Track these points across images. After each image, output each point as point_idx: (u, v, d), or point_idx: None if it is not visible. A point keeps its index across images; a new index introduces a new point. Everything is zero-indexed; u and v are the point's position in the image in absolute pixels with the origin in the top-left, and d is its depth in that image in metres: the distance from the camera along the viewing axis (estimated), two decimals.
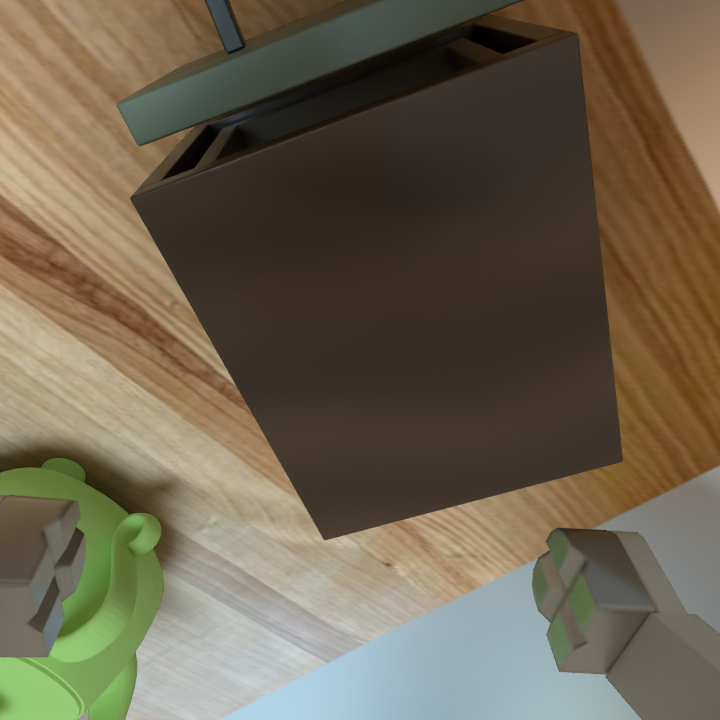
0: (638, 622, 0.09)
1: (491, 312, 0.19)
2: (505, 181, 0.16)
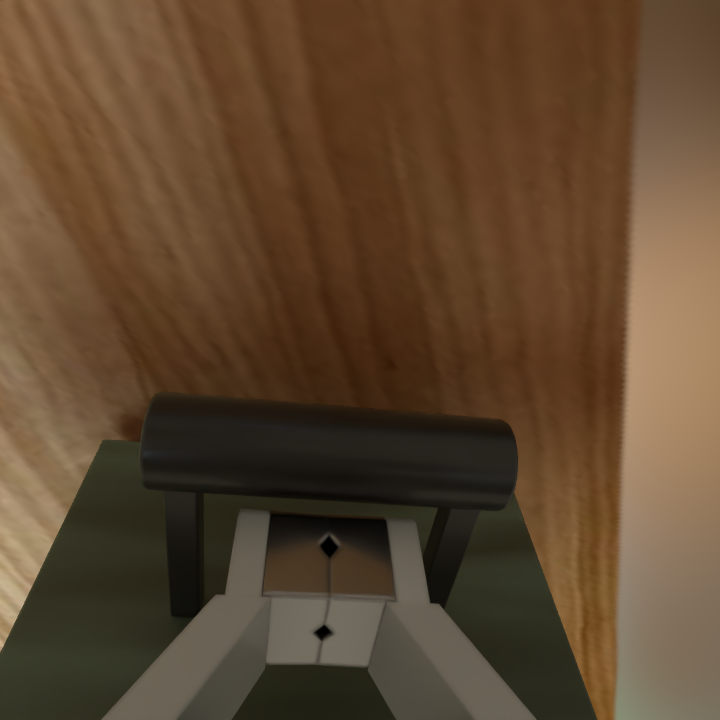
0: (379, 612, 0.08)
1: None
2: None
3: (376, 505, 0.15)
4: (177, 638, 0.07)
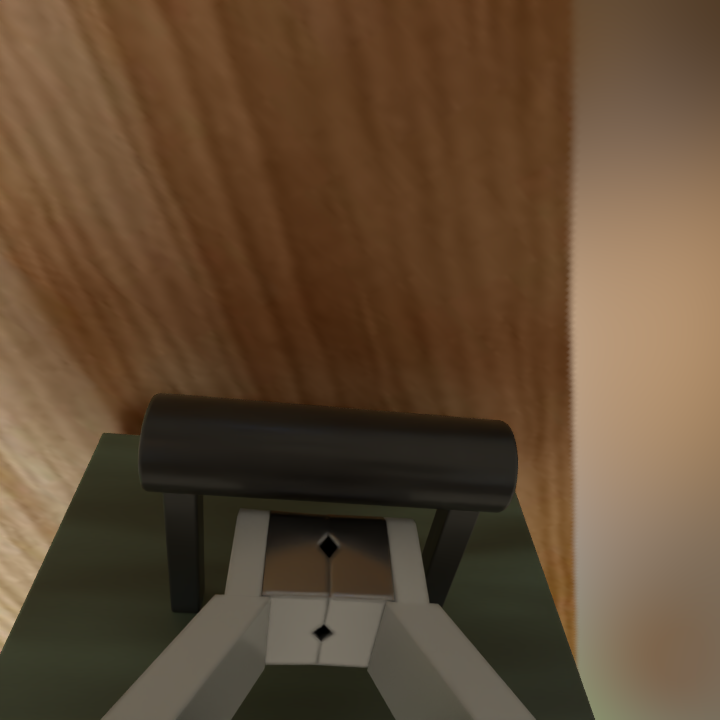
0: (379, 612, 0.08)
1: None
2: None
3: None
4: (176, 638, 0.07)
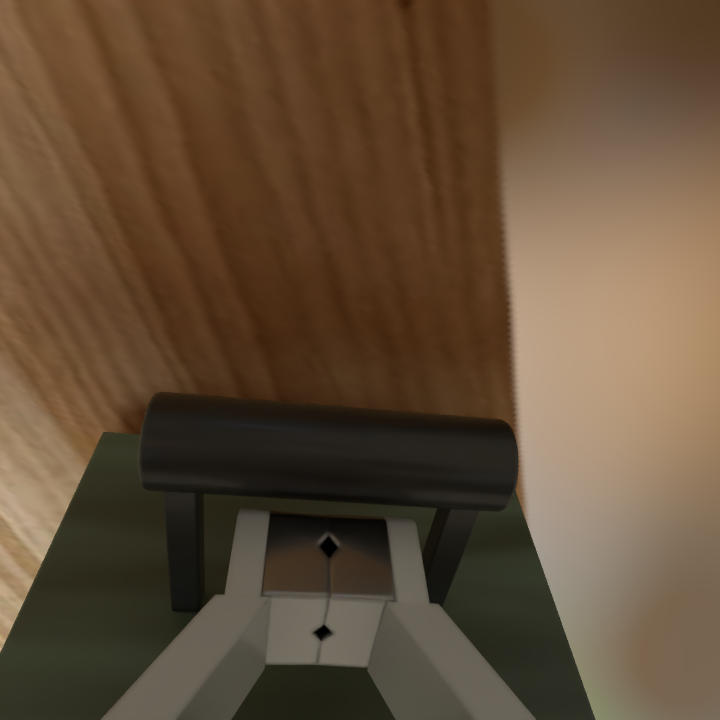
0: (379, 612, 0.08)
1: None
2: None
3: None
4: (176, 638, 0.07)
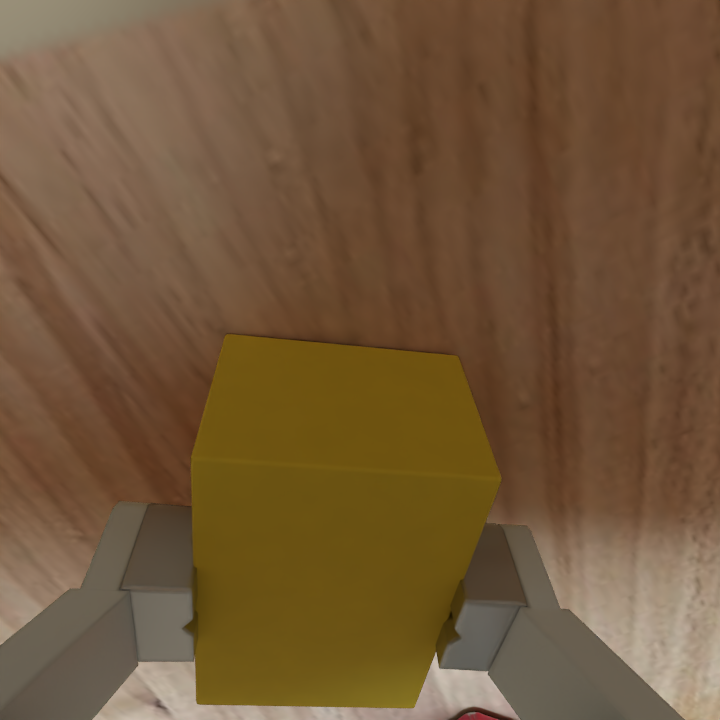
0: (510, 617, 0.09)
1: None
2: None
3: None
4: (17, 633, 0.07)
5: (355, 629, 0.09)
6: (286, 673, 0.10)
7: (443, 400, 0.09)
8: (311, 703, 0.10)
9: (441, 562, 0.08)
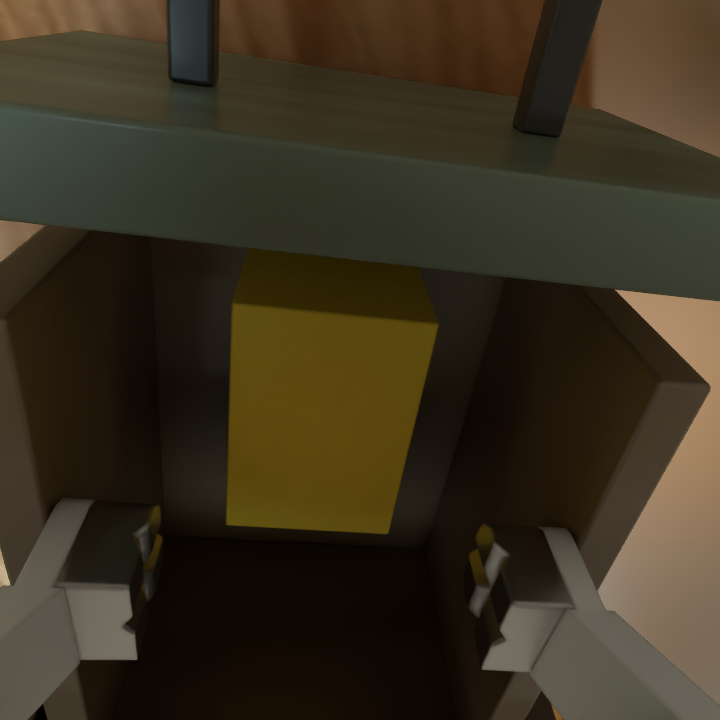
0: (555, 619, 0.09)
1: None
2: None
3: (446, 95, 0.11)
4: None
5: (342, 454, 0.13)
6: (292, 495, 0.13)
7: (404, 286, 0.12)
8: (311, 526, 0.14)
9: (401, 394, 0.12)
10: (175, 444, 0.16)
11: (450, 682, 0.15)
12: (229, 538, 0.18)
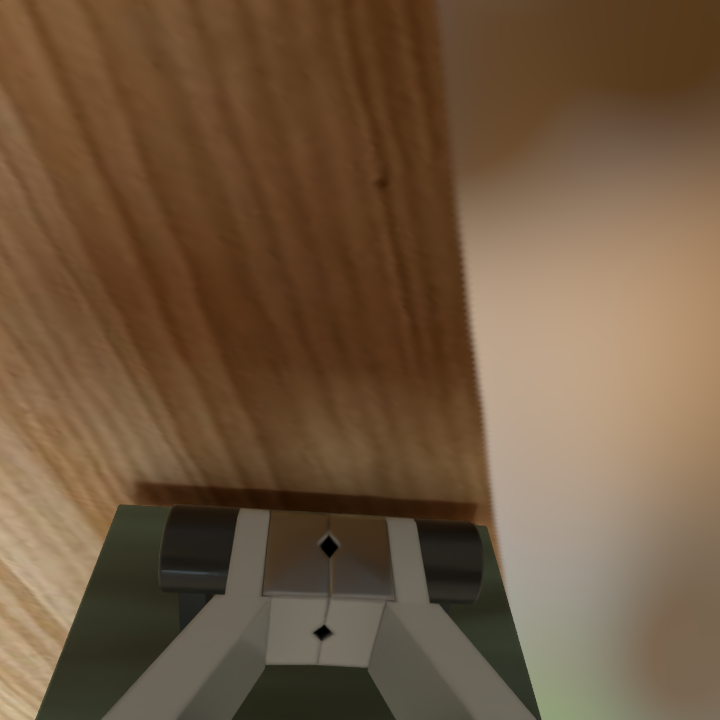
0: (379, 612, 0.08)
1: None
2: None
3: None
4: (177, 638, 0.07)
5: None
6: None
7: None
8: None
9: None
10: None
11: None
12: None
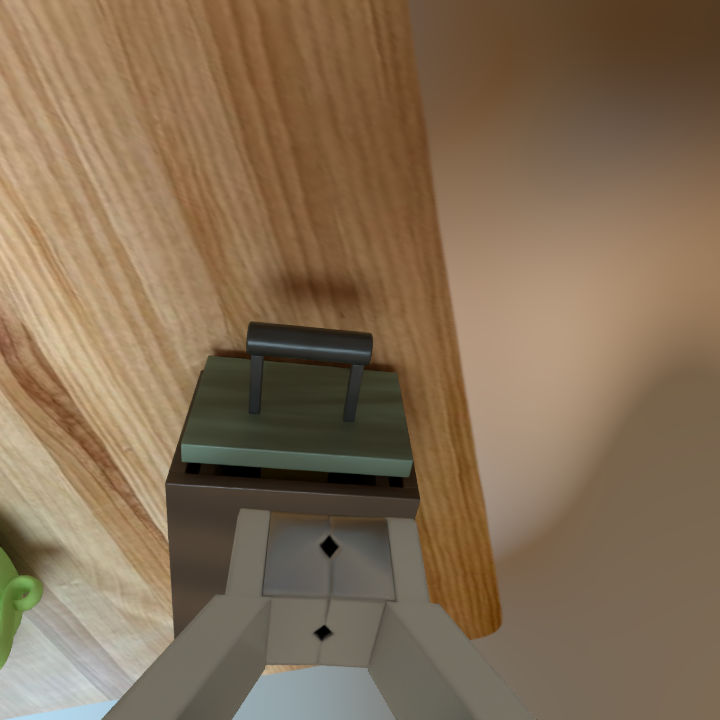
0: (379, 612, 0.08)
1: None
2: None
3: (333, 384, 0.33)
4: (177, 638, 0.07)
5: None
6: None
7: None
8: None
9: (320, 480, 0.34)
10: None
11: None
12: None
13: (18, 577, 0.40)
